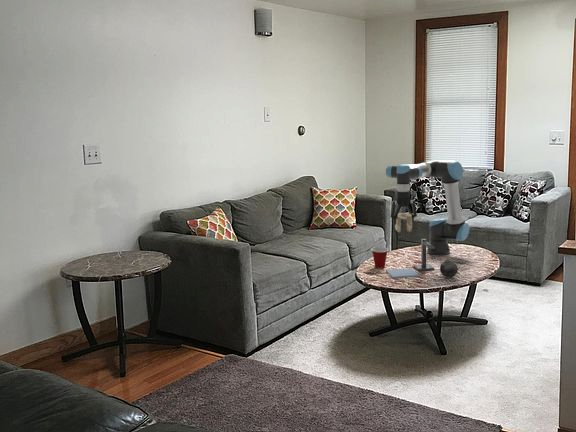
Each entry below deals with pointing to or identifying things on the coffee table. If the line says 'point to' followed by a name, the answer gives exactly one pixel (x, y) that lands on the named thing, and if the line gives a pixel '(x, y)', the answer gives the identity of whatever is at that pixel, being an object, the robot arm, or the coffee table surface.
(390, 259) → the coffee table surface
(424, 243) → the stand
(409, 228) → the wooden u-bracket
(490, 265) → the coffee table surface
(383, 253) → the plastic cup
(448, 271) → the decorative stone
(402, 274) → the mat
